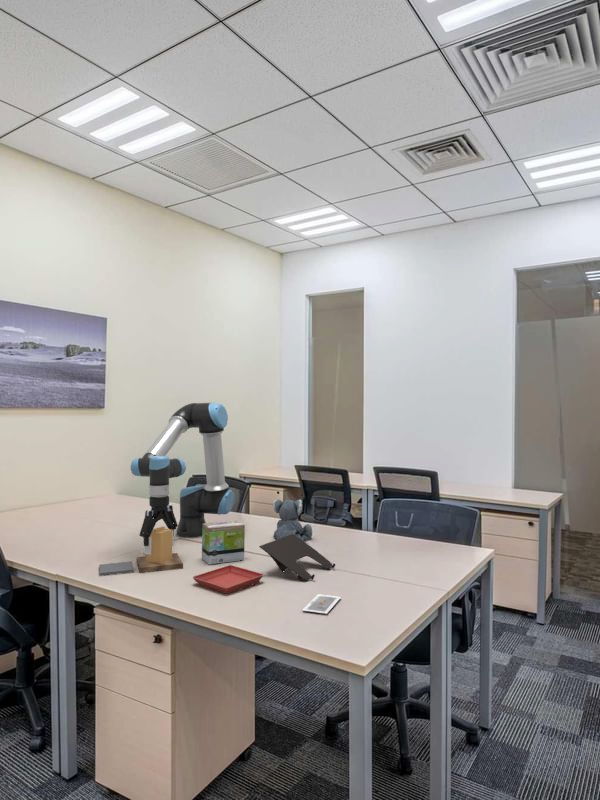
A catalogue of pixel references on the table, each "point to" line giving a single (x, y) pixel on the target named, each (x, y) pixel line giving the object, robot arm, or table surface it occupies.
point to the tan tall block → (160, 545)
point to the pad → (116, 568)
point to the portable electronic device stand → (294, 555)
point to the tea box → (223, 542)
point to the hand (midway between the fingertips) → (159, 550)
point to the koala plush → (290, 520)
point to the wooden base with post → (159, 564)
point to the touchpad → (322, 603)
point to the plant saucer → (228, 578)
